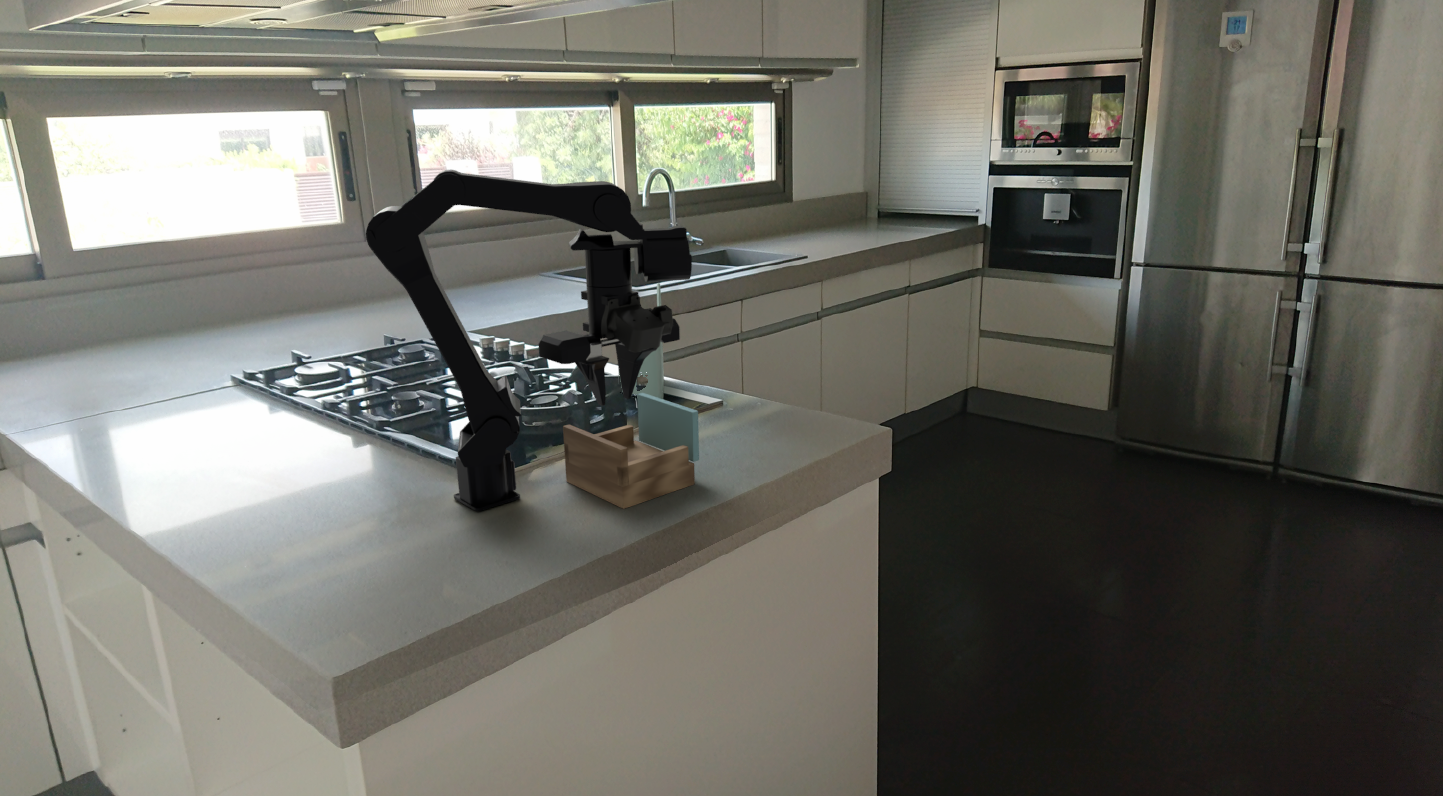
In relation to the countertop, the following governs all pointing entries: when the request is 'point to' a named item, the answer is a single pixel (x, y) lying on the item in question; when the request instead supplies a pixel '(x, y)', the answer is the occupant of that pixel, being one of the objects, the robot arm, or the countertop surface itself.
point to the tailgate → (668, 425)
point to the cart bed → (623, 466)
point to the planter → (653, 367)
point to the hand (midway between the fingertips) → (614, 401)
